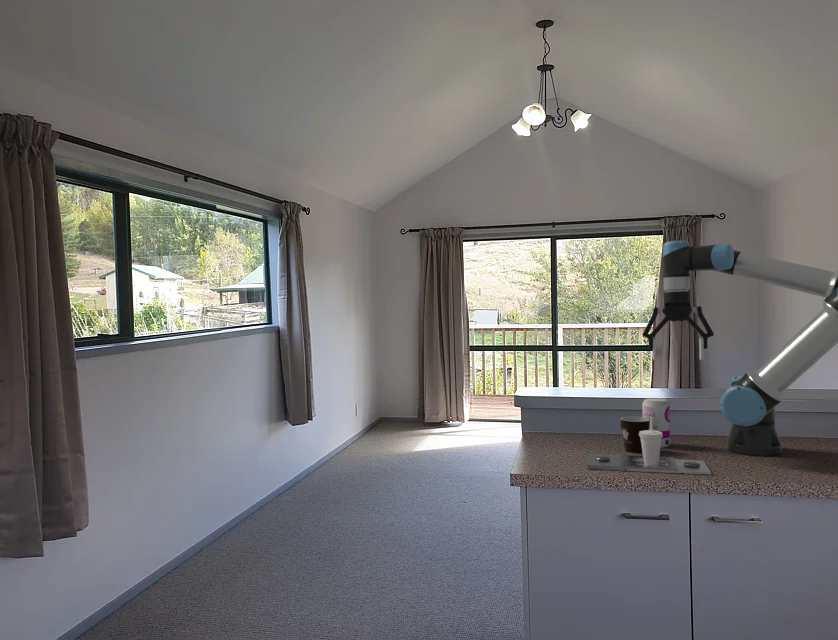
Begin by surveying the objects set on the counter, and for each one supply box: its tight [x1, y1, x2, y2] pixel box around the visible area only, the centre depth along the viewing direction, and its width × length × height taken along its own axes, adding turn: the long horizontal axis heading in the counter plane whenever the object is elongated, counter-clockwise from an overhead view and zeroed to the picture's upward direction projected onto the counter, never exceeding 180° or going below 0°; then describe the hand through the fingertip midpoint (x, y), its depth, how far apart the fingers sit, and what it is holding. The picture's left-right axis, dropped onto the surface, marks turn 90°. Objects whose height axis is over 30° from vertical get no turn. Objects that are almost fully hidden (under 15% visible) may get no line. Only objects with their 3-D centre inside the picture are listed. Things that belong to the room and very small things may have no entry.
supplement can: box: [641, 397, 671, 449], centre depth 199 cm, size 8×8×15 cm
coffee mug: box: [620, 416, 650, 454], centre depth 194 cm, size 12×9×10 cm
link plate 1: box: [587, 453, 678, 472], centre depth 176 cm, size 24×13×2 cm, turn 73°
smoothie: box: [639, 417, 663, 466], centre depth 174 cm, size 6×6×14 cm
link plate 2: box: [625, 458, 713, 476], centre depth 173 cm, size 22×13×1 cm, turn 73°
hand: (677, 359), depth 189 cm, fingers open, 13 cm apart
